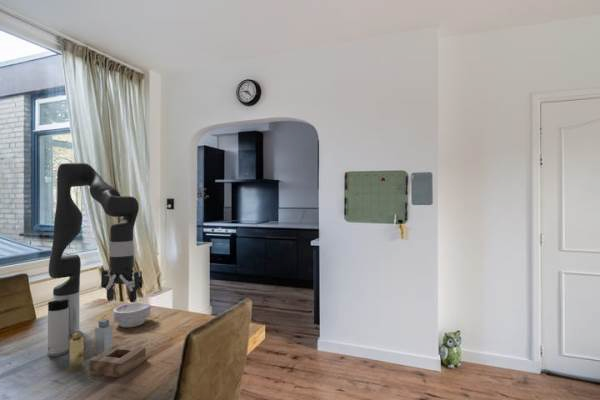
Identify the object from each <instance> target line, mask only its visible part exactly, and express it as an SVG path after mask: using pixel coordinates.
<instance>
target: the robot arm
mask: <svg viewBox="0 0 600 400" xmlns="http://www.w3.org/2000/svg"><path fill="white" fill-rule="evenodd" d="M56 173H57V174H56V206H55V213H54V214H55V215H54V222H53V233H52V234H53V238H52V239H53V240H52V247H51V250H50V251H51V252H50V257H49V263H48V275H49V277H50V278H52V279H61V278H62V279H64V278H68V279H67V280H66V281H64V282H62V283H61V284H57V285H56V286H55V287H54V288H53V290H52V301H55V300H57V301H60V300H65V299H67V300H68V307H69V308H68V309H69V337H70V336H72V334H73V333H75V332H80V311H81V310H80V300H81V298H80V296H81V295H80V285H81V284H80V283H81V269H82V268H81V267H82V266H81V263H82V262H81V257H80V256H79V255H78V254H65V255H63V253H64V252H65V250H66V249H67V248H68V246H69V245H70V244H71V243H72V242H74V240H75V239H76V238H77V237H78V236H79V234H80V233H81V232H82V231H81V230H82V225H83V224H82V223H83V213H82V211H81V210H80V208H79V207H78V206H77V204H76V203H75V202H74V200H73V197H72V194H71V191H72V190H71V189H72V188H74V187H84V186H88V187H89V194H90V196H91V198H93V199H94V200H95V201H96V202H97V203H99V204H100V205H101V207H102V209H103V211H104V213H105V214H106V215H107V216H110V217H113V218H118V217H119V218H121V217H122V219H121V221H120V222H117V223H114V224H112V225H110V229H109V231H110V235H109V240H110V241H109V251H108V252H109V255H108V257H109V259H108V260H109V261H108V263H109V265H108V269H105V270H104V269H103V270H102V271H101V277H100V278H101V279H100V287H101V289H105V290H106V299H107V301H112V300H114V299H115V286H116V285H117V284H121V285H125V286H126V287H127V288H128V289H129V302H130V303H135V302H136V300H137V298H138V295H137V294H138V292H137V291H138V290H139V289H143V271H142V270H138V271H134V266H135V245H134V228H135V224H136V221H137V216H138V213H139V211H140V210H139V209H140V205H139V201H138V200H137V198H136V197H134V196H130V195H129V196H127V195H126V196H124V195H122V196H121V193H120V192H119V191H118V190H117V189H116V188H115V187H113V186H112V185H109V183H108V182H106V181H105V179H103V178H102V177H101V176H100V175H99V173H98V172H97V171H96V170H95V169H94V167H93V166H92V165H90V164H88V163H85V162H62V163H60V164H59V166H58V167H57V172H56ZM110 277H111V278H110Z"/></svg>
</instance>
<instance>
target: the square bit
mask: <svg viewBox="0 0 600 400" xmlns="http://www.w3.org/2000/svg"><path fill="white" fill-rule="evenodd" d="M113 326H114V325H113V324H112V323H110V319H108V318H107V319H106V318H105V319H104V318H103V319H101V320H99V321H98V326H95V327H94V355H96V356H97V355H99V354H101V353H103V352H104V351H106V350H108V349H109V348H111V347H113V342H114V340H113V339H114V338H113V333H114V330H113Z"/></svg>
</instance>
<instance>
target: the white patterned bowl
mask: <svg viewBox="0 0 600 400" xmlns="http://www.w3.org/2000/svg"><path fill="white" fill-rule="evenodd" d="M112 315H113V316H112V320H113V322H114V323H117V324H118V325H119V327H121V328H134V327H137V326H141V325H143V324H144V323H145V321H146V319H147V318H149V317H150V316H151V304H150V303H149V302H142V301H141V302H130V303H124V304H121V305H119V306H116V307H115V308H114V309H113V311H112Z"/></svg>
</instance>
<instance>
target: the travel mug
mask: <svg viewBox="0 0 600 400" xmlns="http://www.w3.org/2000/svg"><path fill="white" fill-rule="evenodd" d="M68 308H69V307H68V300H67V299H65V300H60V301H57V300H55V301H53V300H51V301H48V302H47V356H48V357H54V358H55V357H60V356H64V355H65V354H66V353H68V352H69V351H70V339H69V337H70V336H69V309H68Z"/></svg>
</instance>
